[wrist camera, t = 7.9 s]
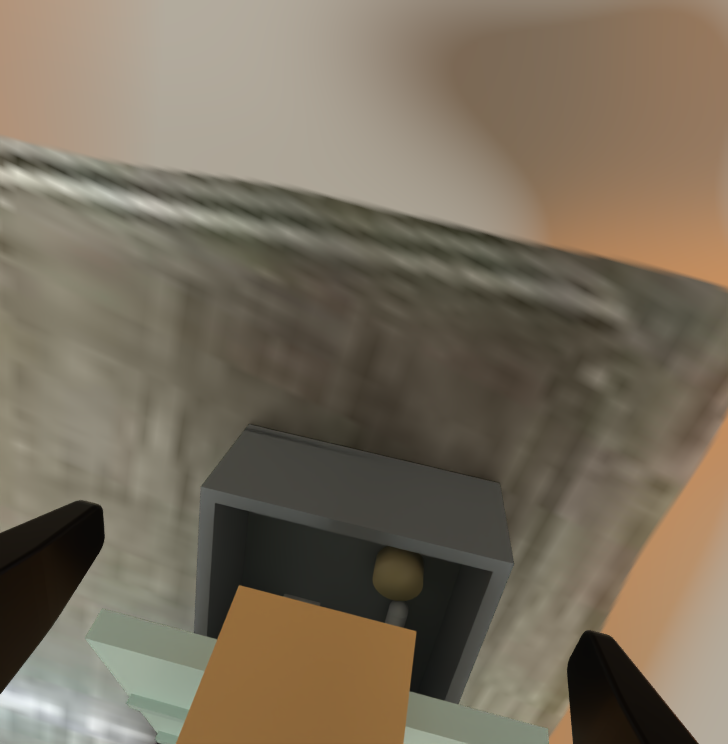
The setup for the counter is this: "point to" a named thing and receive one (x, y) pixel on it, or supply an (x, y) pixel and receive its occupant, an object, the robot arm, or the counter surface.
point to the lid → (286, 680)
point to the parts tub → (357, 545)
